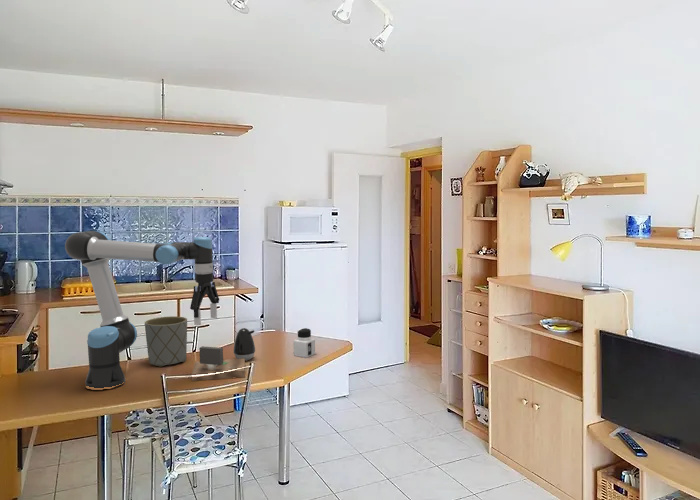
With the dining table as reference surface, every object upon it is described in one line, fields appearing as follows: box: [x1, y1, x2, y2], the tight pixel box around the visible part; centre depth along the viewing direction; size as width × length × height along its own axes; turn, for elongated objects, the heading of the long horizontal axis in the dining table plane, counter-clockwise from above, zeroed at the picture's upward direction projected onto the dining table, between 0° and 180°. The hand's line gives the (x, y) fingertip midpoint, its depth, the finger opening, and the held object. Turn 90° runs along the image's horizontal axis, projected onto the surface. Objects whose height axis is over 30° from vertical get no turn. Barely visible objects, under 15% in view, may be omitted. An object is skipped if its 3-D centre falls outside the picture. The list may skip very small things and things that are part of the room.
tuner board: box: [191, 358, 246, 382], centre depth 237 cm, size 22×18×3 cm
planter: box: [144, 315, 188, 368], centre depth 253 cm, size 19×19×20 cm
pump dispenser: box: [233, 327, 256, 362], centre depth 256 cm, size 10×10×15 cm
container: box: [293, 327, 316, 359], centre depth 263 cm, size 8×8×13 cm
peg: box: [198, 346, 224, 370], centre depth 236 cm, size 12×10×10 cm
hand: (206, 321), depth 233 cm, fingers open, 13 cm apart
